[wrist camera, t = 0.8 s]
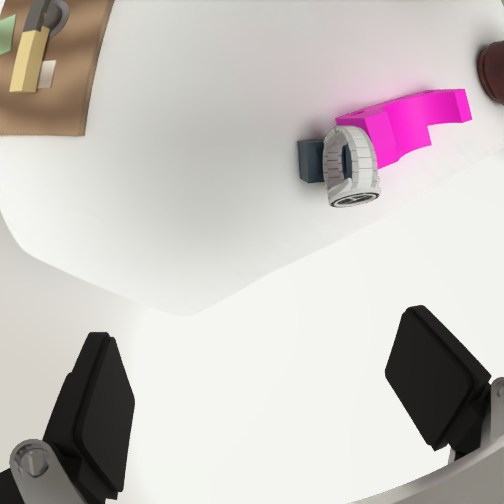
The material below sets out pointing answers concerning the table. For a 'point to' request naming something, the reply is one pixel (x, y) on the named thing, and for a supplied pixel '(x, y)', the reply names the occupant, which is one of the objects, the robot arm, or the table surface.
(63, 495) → the robot arm
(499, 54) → the vase
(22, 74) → the lever handle
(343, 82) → the table surface
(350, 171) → the watch
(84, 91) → the wooden lever switch board
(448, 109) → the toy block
